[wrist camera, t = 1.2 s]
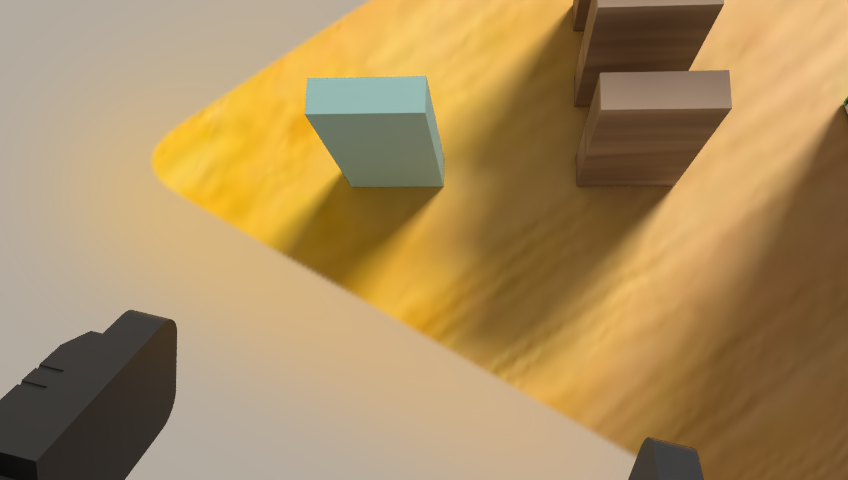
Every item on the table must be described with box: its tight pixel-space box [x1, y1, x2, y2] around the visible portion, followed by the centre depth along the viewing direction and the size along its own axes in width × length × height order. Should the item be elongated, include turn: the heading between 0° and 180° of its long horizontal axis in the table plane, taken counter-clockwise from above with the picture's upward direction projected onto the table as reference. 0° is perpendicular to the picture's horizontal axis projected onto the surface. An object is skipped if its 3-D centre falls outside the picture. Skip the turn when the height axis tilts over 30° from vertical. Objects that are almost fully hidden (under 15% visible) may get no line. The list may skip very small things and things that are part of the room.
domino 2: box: [576, 70, 732, 186], centre depth 34 cm, size 2×5×10 cm, turn 88°
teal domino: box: [305, 76, 444, 187], centre depth 36 cm, size 2×5×10 cm, turn 88°
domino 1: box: [574, 0, 724, 107], centre depth 35 cm, size 2×5×10 cm, turn 88°
